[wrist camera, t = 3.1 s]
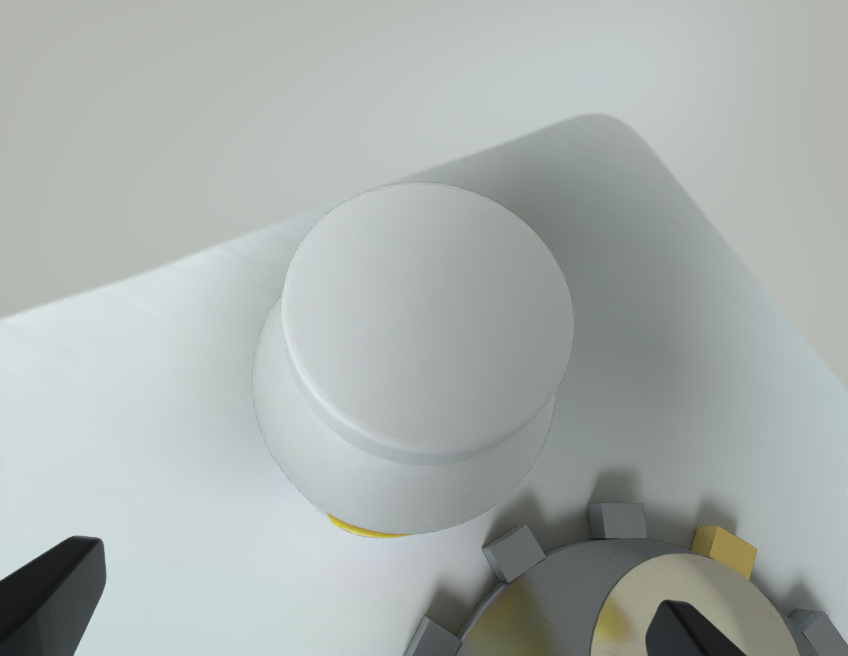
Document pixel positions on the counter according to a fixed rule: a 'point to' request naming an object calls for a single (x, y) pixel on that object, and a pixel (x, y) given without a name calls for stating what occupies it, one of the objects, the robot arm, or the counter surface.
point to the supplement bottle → (412, 359)
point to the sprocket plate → (621, 596)
